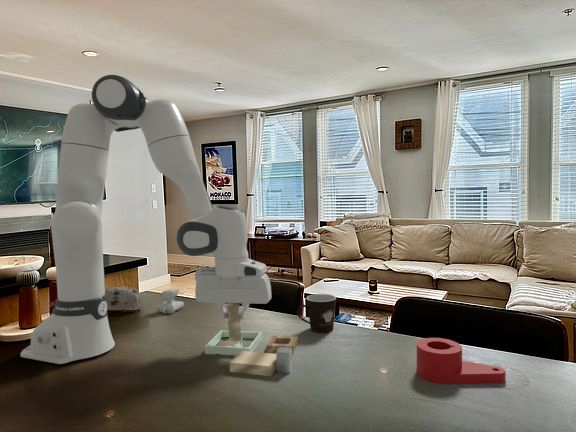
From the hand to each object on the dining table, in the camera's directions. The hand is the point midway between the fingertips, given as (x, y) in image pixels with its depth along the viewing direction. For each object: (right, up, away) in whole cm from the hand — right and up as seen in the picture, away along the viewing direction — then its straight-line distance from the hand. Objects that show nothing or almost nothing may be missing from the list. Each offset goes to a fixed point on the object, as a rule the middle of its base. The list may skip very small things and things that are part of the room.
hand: (234, 318), depth 111 cm
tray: (0, -8, 0) cm, 8 cm away
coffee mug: (+23, -7, +11) cm, 26 cm away
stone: (-44, -7, +35) cm, 57 cm away
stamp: (-26, -7, +33) cm, 43 cm away
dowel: (0, -6, 0) cm, 6 cm away
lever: (+52, -8, -19) cm, 56 cm away
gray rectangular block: (+14, -9, -14) cm, 22 cm away
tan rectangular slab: (+7, -9, -13) cm, 17 cm away
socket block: (+13, -8, -2) cm, 15 cm away
